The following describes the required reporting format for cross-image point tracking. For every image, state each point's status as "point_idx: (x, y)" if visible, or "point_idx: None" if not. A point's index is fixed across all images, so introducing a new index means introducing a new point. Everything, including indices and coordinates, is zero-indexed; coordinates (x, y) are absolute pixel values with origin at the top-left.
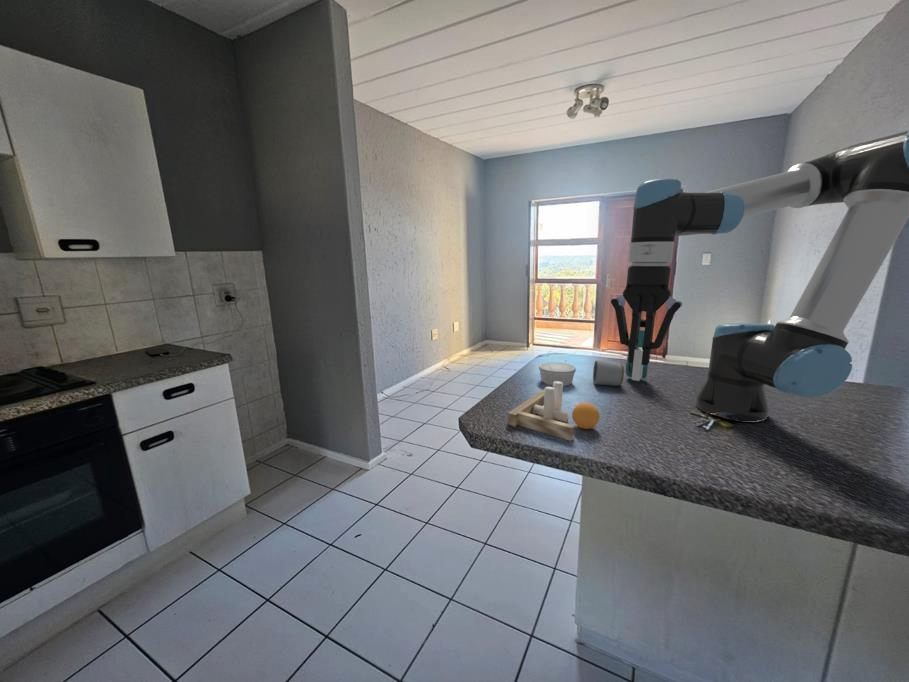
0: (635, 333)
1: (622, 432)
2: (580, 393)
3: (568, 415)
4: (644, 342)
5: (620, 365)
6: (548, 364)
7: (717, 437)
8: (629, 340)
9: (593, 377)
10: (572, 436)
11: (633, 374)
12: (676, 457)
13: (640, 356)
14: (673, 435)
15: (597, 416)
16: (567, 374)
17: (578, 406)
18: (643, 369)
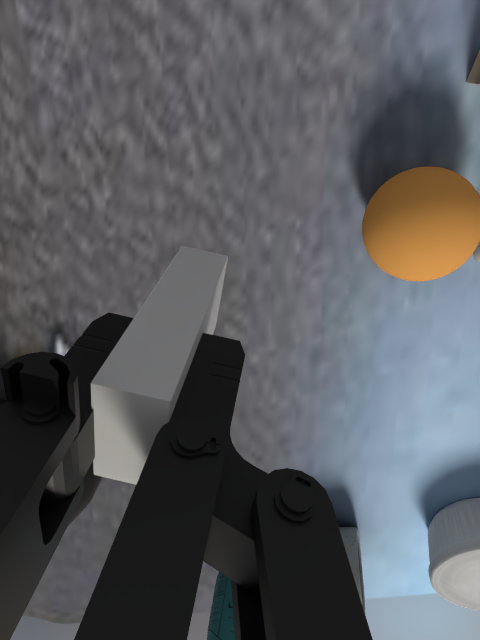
0: (105, 619)
1: (274, 224)
2: (403, 465)
3: (477, 258)
4: (31, 464)
5: None
6: None
7: (29, 298)
8: (220, 528)
9: (359, 557)
10: (478, 66)
11: (211, 270)
12: (103, 101)
13: (130, 346)
14: (129, 266)
15: (375, 207)
16: (462, 540)
17: (471, 224)
18: (222, 594)
